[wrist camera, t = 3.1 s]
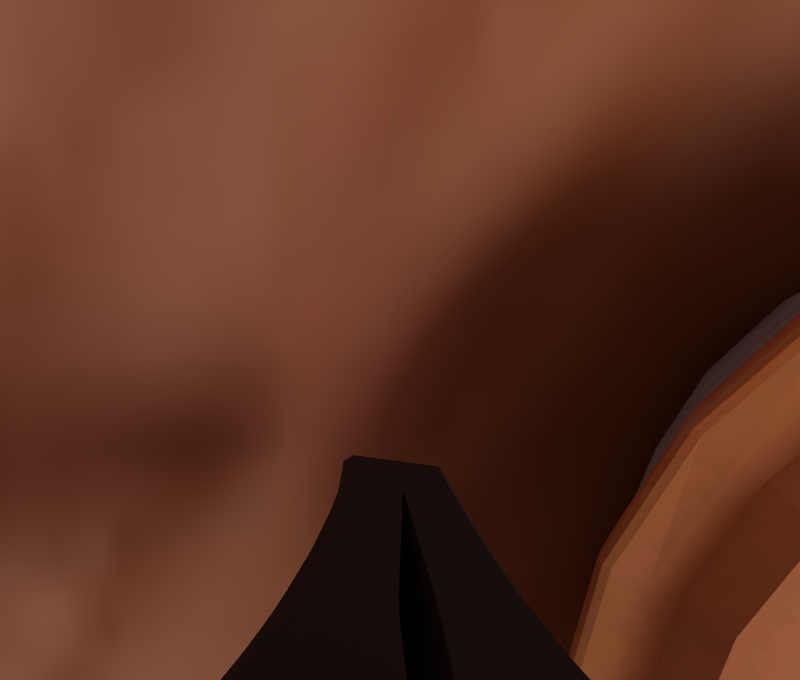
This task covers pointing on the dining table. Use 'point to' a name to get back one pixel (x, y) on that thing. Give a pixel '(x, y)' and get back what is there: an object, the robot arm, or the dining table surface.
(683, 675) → the pie
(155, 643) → the dining table surface
